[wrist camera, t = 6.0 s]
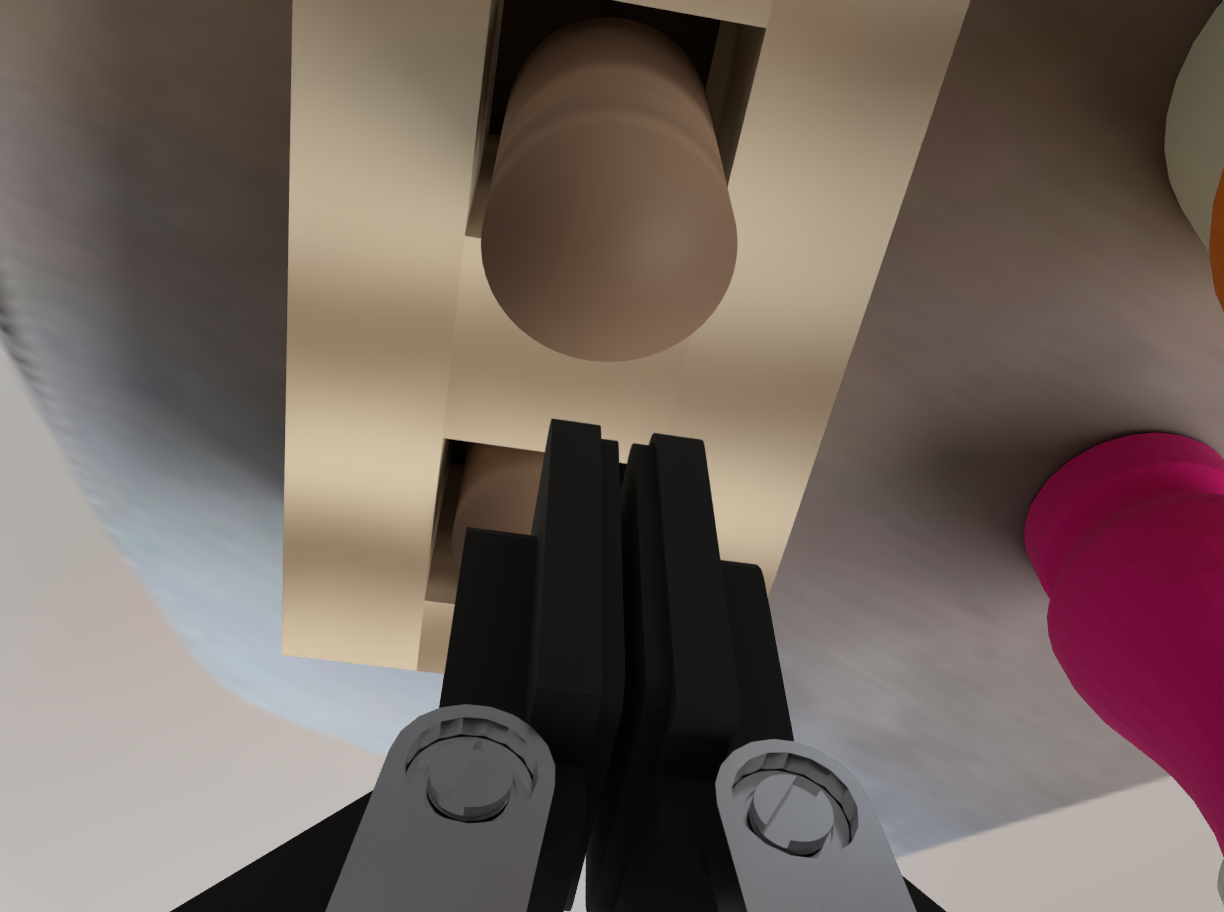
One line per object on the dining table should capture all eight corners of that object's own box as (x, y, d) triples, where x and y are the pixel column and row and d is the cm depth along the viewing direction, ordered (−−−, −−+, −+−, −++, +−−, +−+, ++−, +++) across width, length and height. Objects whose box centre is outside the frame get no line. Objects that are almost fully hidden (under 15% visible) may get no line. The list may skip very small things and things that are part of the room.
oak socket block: (359, -249, 24) (296, -221, 19) (920, -136, 25) (998, -84, 20) (326, 512, 35) (281, 654, 30) (713, 563, 36) (731, 707, 31)
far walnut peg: (482, 338, 31) (460, 468, 26) (628, 360, 32) (633, 492, 27) (467, 458, 33) (444, 599, 28) (604, 477, 34) (604, 618, 29)
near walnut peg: (520, -1, 22) (497, 103, 17) (729, 37, 22) (765, 149, 17) (495, 199, 24) (467, 342, 19) (684, 230, 24) (706, 377, 19)
